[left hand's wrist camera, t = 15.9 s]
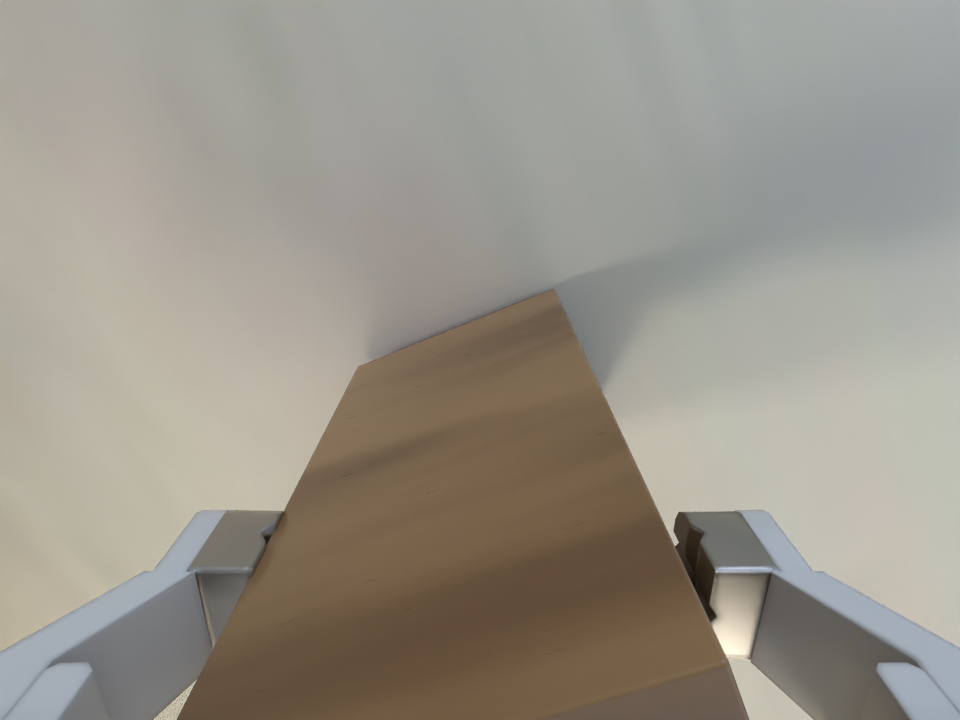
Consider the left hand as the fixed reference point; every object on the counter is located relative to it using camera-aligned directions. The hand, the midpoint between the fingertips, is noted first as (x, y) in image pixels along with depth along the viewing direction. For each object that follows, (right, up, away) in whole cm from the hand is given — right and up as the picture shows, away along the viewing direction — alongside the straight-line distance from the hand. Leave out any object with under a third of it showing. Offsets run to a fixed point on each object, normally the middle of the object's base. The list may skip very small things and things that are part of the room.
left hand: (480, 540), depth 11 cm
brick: (0, +2, +6) cm, 7 cm away
